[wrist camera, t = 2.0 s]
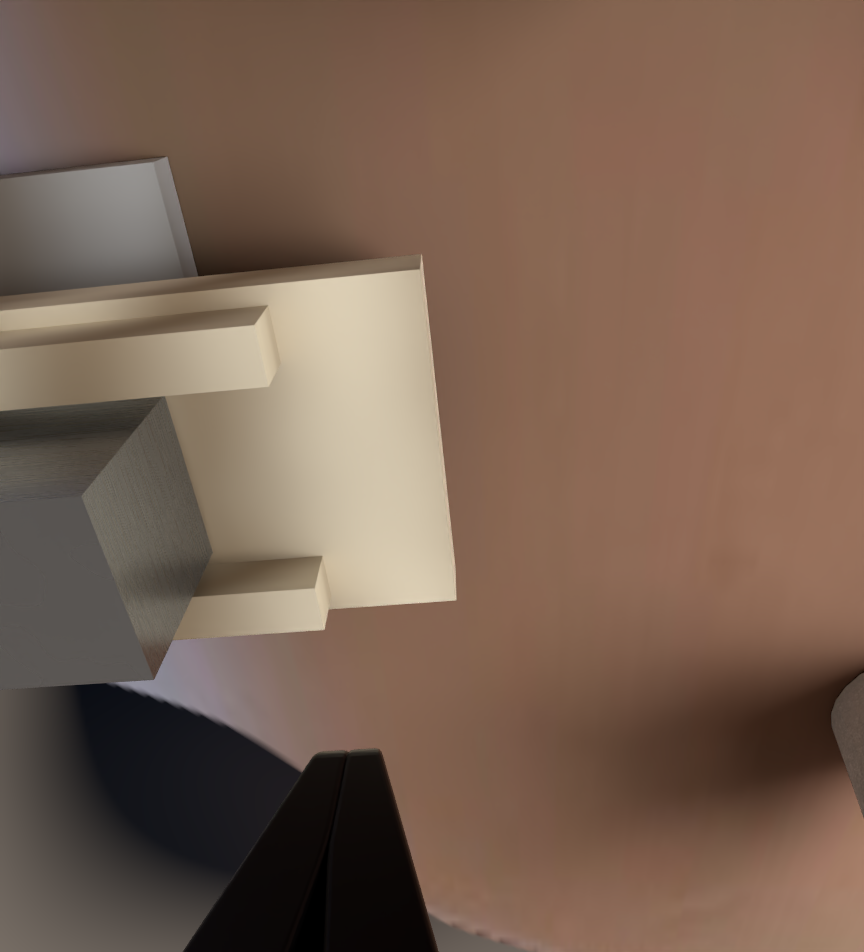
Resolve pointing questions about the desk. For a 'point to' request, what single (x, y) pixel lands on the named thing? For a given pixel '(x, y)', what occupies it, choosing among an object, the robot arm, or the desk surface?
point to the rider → (94, 542)
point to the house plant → (851, 733)
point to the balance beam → (240, 392)
